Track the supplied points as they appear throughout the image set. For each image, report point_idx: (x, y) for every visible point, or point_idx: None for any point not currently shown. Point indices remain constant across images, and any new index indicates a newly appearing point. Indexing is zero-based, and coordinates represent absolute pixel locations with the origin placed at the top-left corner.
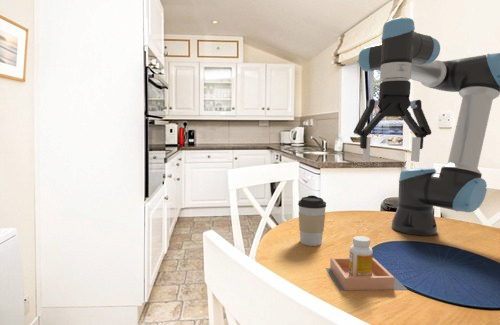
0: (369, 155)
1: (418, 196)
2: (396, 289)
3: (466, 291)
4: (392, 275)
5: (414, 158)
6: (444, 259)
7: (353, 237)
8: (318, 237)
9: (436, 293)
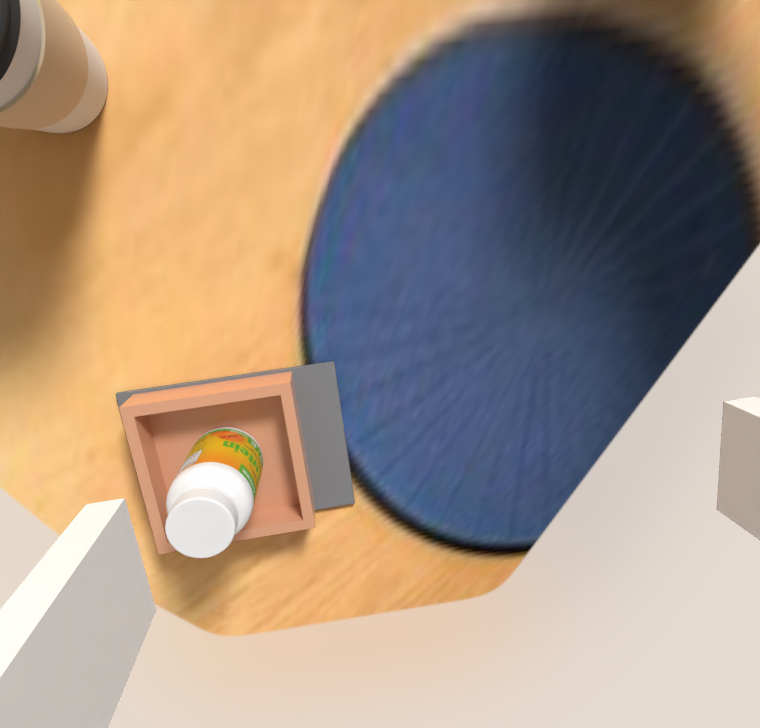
0: (129, 669)
1: None
2: (322, 506)
3: (516, 476)
4: (312, 516)
5: (745, 488)
6: (592, 244)
7: (166, 521)
8: (71, 120)
9: (429, 498)
